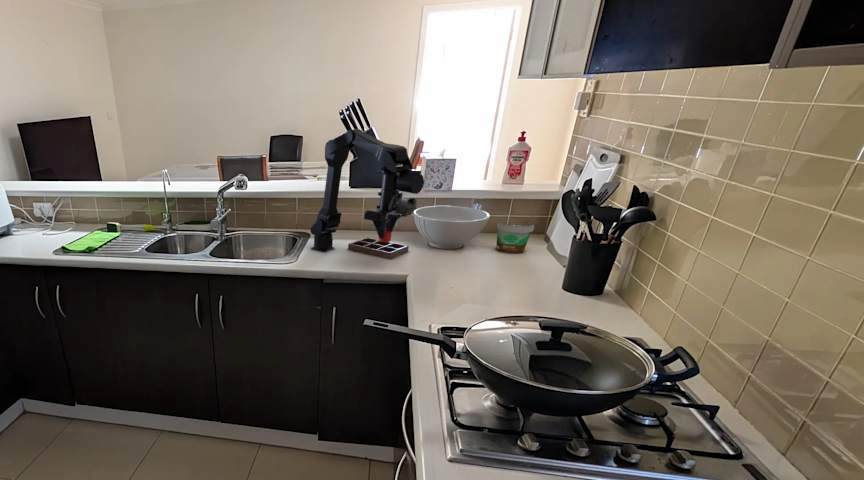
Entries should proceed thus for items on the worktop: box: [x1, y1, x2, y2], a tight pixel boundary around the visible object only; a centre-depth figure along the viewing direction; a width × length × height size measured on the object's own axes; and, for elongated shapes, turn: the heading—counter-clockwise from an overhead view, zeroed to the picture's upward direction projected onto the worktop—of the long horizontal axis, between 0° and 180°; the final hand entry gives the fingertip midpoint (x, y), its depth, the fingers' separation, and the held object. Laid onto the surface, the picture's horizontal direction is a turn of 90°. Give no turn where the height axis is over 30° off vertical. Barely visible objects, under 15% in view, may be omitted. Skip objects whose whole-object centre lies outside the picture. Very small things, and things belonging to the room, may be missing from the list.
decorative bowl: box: [413, 205, 490, 250], centre depth 192 cm, size 27×27×12 cm
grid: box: [347, 237, 410, 260], centre depth 190 cm, size 18×12×2 cm
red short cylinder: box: [378, 229, 393, 242], centre depth 167 cm, size 4×4×3 cm
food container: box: [495, 221, 535, 255], centre depth 181 cm, size 12×6×10 cm, turn 68°
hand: (384, 237), depth 167 cm, fingers closed on red short cylinder, 4 cm apart
